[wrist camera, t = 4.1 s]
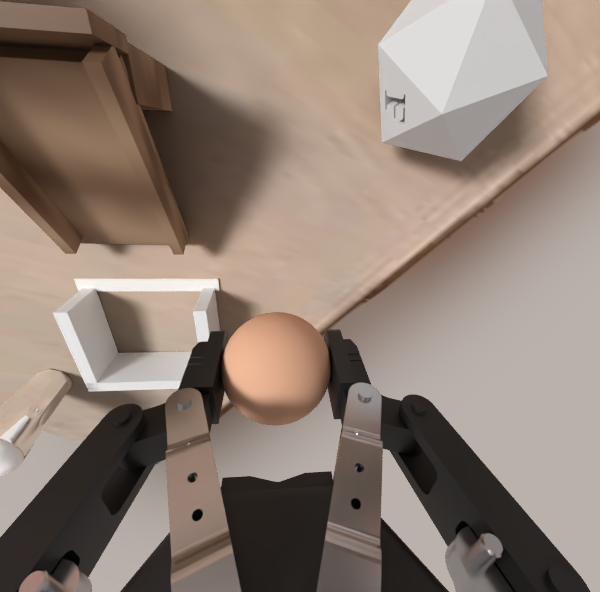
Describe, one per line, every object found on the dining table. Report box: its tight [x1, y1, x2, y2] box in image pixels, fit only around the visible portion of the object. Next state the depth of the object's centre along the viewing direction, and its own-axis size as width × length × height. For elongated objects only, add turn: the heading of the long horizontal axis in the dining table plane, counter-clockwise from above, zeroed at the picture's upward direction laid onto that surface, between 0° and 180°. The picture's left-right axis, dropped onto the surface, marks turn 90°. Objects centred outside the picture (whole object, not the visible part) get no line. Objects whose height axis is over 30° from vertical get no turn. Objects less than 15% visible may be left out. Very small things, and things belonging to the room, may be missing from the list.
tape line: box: [74, 278, 220, 291], centre depth 25 cm, size 1×12×1 cm, turn 87°
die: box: [378, 0, 548, 161], centre depth 16 cm, size 8×9×10 cm
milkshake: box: [0, 369, 72, 476], centre depth 26 cm, size 4×5×10 cm
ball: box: [221, 312, 331, 425], centre depth 13 cm, size 5×5×5 cm
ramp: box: [0, 1, 188, 254], centre depth 17 cm, size 12×8×9 cm
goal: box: [53, 288, 220, 392], centre depth 26 cm, size 8×11×4 cm
